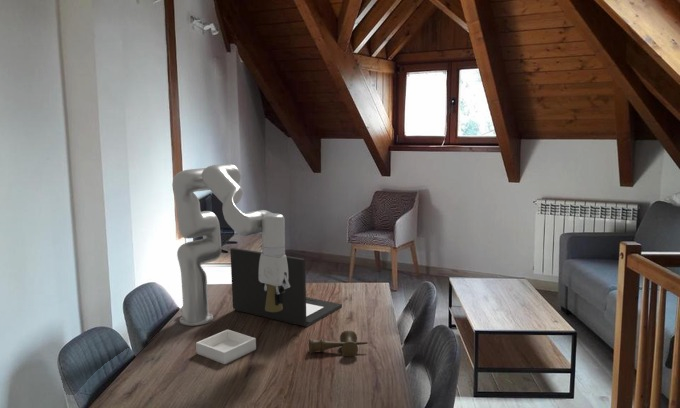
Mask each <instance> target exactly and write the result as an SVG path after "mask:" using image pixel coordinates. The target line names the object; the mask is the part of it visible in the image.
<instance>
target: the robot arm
mask: <svg viewBox="0 0 680 408" xmlns="http://www.w3.org/2000/svg"><path fill="white" fill-rule="evenodd" d="M241 177H242V176H241V172H240V169H239V168H238V167H237V166H236V165H235V164H233V163H232V164H231V163H221V164H212V165H208V166H207V167H204V168H202V167H201V168H191V169H185V170H181V171H179V172H177V173H176V174H175V175H174V177H173V179H172V184H171V185H172V192H173V195H174V197H175V198H174V199H175V202H176V210H177V211H176V212H177V222H178V230H179V234H180V236H181V237H182V238H184V239H195V238H200V237H202V238H201V239H196V240H192V241H187V242H185V243H183V244H182V245H179V247H178V249H177V253H176V257H177V260H178V264H179V269H180V278H181V279H180V280H181V291H182V292H181V294H182V307H181V308H179V310H178V311H179V312H180V313H182V316H180V318H179V323H180V324H181V325H184V326H189V327H191V326H193V327H194V326H201V325H205V324H208V323H210V322H212V320H213V319H214V316H213V314H212V313H210V312H209V298H208V297H209V296H208V280H207V279H208V277H207V272H206V271H205V270H204V268H203V267H202V265H204V264H208V263H211V262H214V261H217V260H218V259H220V257H221V254H222V239H221V227H220V226H221V225H220V221H219V219H218V216H217V215H216V214H215V213H214V212H213V211H211V210H203V211H202V210H201V203H200V200H199V198H198V197H197V195H196V194H195V193H196V192H204V191H210V192H212V194H213V195H214V196H215V197H216V198H217V199H218V200H219V201H220V202H221V203H222V207H221V208H222V214H223V218H224V220H225V222H226V224H227V225H228V226H229V227H230V228H231V229H232V230H233V231H234V232H235V233H237V234H238V235H240V236H244V237H245V236H246V237H247V236H251V235H255V234H261V243H262V245H261V246H260V247H261V251H262V254H261V256H260V261H259V281H260V282H261V283H262V285H263V287H264V290H265V291H266V297H267V286H266V284H269V285H272V286H276V293H277V294H275V305H279V304H282V303H283V292H284V291H285V290H286V289H288V288H290V284H289V282H288V264H287V258H286V256H287V255H286V232H285V231H286V230H285V229H286V228H285V225H286V224H285V223H286V221H285V220H286V219H285V216H284V215H283V214H281V213H275V212H274V213H273V212H271V211H269V210H266V209H260V210H255V211H254V210H253V211H250V212H249V211H247V212H242V211H241V210H240V209H239V208H238V207H237V206H236V205H238V203H239V202H240V201H241V199H242V197H243V195H244V190H243V188H242V186H240V185H239V183H240V182H241V180H242V179H241ZM279 286H280V289H279Z"/></svg>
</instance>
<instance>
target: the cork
mask: <svg viewBox="0 0 680 408" xmlns="http://www.w3.org/2000/svg"><path fill="white" fill-rule="evenodd" d="M266 286H267V297H266V305H265V310H266V311H268V312H279V311H281V310H282V309H283V306H282V304H279V305H275V294H277V293H276V286H272V285H269V284H266ZM279 289H280V286H279Z"/></svg>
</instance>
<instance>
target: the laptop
mask: <svg viewBox="0 0 680 408" xmlns="http://www.w3.org/2000/svg"><path fill="white" fill-rule="evenodd" d="M229 250H230V272H231V273H230V275H231V277H230V278H231V292H232V293H231V297H232V298H231V299H232V309H234V310H235V311H237V312H242V313H246V314H250V315H255V316H259V317H263V318H268V319H272V320H276V321H280V322H284V323H289V324H293V325H298V326H302V327H306V328H307V327H309V326H311V325H313V324H315V323H317V322H319V321H320V320H322V319H324V318H326V317H328V316H329V315H331V314H332V313H334V312H336V311H337V310H340V309H341V308H342V306H343V304H342V303H337V302H333V301H329V300H328V301H327V300H321V299H317V298H313V297H307V293H306V292H307V289H306V286H307V285H306V283H307V282H306V279H307V278H306V259H305V258H300V257H296V256H295V257H294V256H289V255H288V256H287V255H286V258H287V264H288V282H289V284H290V288H288V289H286V290H285V291H284V292H283V303H282V306H283V309H282V310H281V311H279V312H268V311H266V310H265V305H266V291H265V290H264V287H263V285H262V283H261V282H260V281H259V261H260V256H261V254H262V252H261V251H256V250H249V249H244V248H238V247H232V248H230V249H229Z"/></svg>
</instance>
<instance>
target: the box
mask: <svg viewBox="0 0 680 408" xmlns="http://www.w3.org/2000/svg"><path fill="white" fill-rule="evenodd" d="M195 346H196V347H195V348H196V354H197V355H200V356H201V357H204V358H207V359H209V360H212V361H215V362H217V363H220V364H223V365H227V364H229V363H231V362H234V361H235V360H237V359H239V358H241V357H243V356H245V355H248V354H250V353H252V352H254V351H256V350H257V338H256V337H253V336H250V335H247V334H244V333H240V332H238V331H233V330H231V329H225V330H223V331H221V332H218V333H215V334H213V335H211V336H208V337H206V338H203V339H202V340H199V341H197V342H196V343H195Z"/></svg>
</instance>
